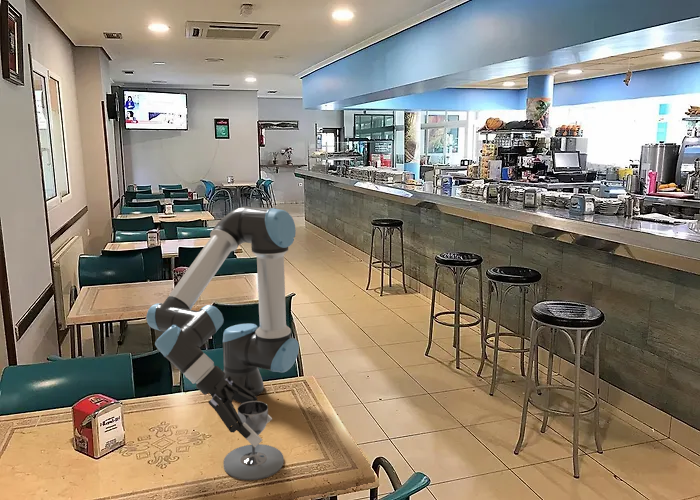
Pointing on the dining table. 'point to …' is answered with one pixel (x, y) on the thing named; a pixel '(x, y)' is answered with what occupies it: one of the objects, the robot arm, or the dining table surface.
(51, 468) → the dining table surface
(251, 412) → the wine glass
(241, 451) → the plate
